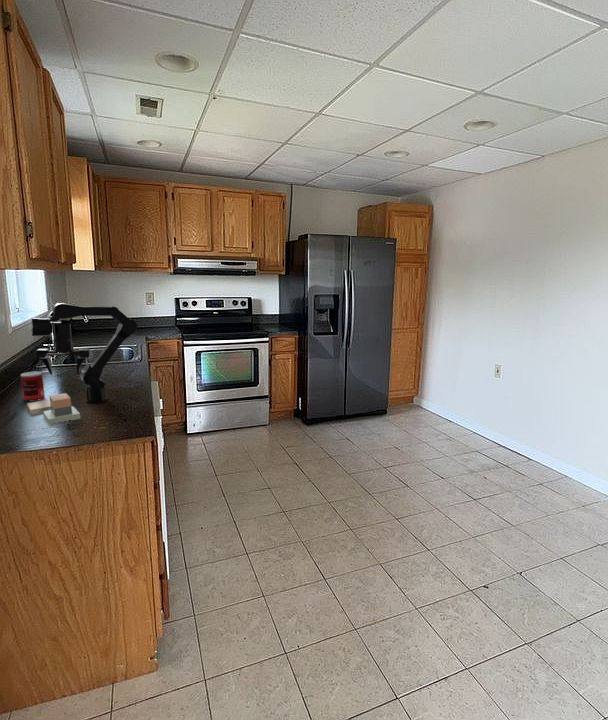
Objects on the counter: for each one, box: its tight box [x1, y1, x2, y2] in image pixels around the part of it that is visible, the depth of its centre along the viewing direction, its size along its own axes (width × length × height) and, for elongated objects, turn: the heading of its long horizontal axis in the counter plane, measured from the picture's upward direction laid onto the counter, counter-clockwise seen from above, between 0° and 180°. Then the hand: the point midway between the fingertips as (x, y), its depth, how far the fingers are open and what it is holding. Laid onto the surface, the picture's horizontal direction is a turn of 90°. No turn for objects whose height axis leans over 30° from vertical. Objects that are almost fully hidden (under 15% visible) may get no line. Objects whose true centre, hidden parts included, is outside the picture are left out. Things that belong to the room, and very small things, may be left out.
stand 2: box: [42, 405, 81, 425], centre depth 155 cm, size 11×10×2 cm
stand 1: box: [26, 399, 51, 415], centre depth 164 cm, size 11×10×2 cm
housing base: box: [50, 404, 72, 417], centre depth 154 cm, size 8×6×3 cm
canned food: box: [20, 371, 45, 401], centre depth 176 cm, size 8×8×11 cm
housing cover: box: [48, 392, 72, 409], centre depth 153 cm, size 8×6×3 cm
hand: (64, 374), depth 166 cm, fingers open, 9 cm apart
